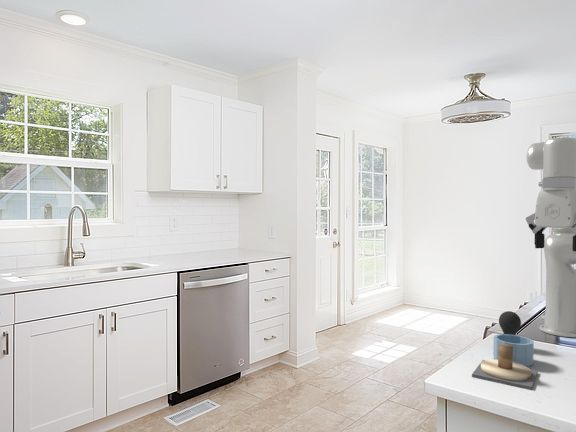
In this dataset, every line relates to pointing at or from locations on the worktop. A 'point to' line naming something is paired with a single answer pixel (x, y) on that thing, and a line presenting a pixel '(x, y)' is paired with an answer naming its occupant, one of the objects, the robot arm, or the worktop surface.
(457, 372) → the worktop surface
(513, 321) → the light bulb
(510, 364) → the lid
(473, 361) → the worktop surface
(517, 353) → the bowl
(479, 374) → the mat
